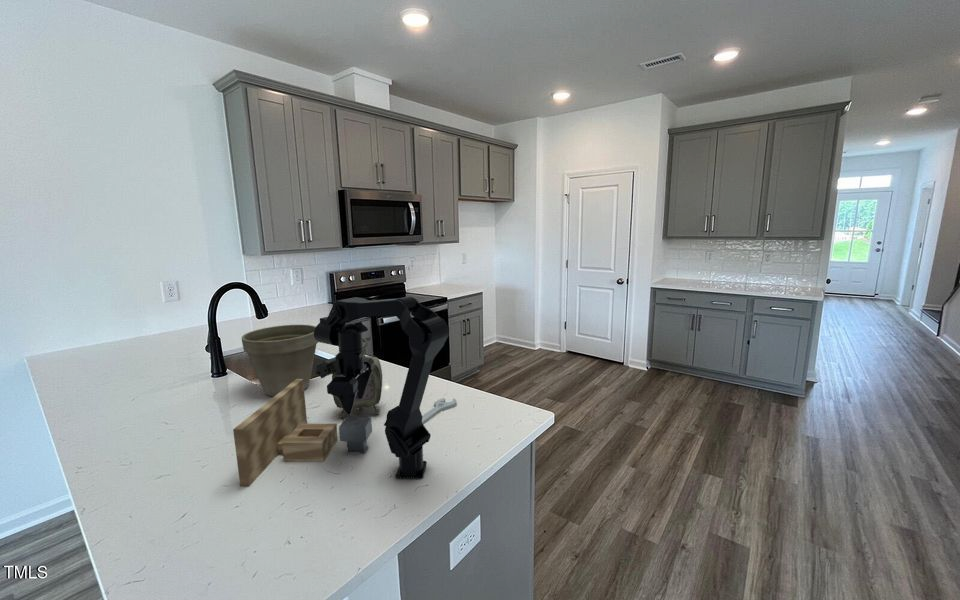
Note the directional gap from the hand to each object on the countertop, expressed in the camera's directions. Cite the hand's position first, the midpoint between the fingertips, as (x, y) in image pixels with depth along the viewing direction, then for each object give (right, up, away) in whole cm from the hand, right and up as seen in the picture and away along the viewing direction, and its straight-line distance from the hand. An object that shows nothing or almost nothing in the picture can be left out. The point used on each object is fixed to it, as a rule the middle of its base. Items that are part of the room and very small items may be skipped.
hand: (354, 406), depth 103 cm
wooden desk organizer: (-15, -12, +2) cm, 19 cm away
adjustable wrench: (+16, -9, +21) cm, 28 cm away
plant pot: (-39, -5, +43) cm, 58 cm away
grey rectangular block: (0, -12, +2) cm, 13 cm away
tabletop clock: (-6, -9, +24) cm, 26 cm away
